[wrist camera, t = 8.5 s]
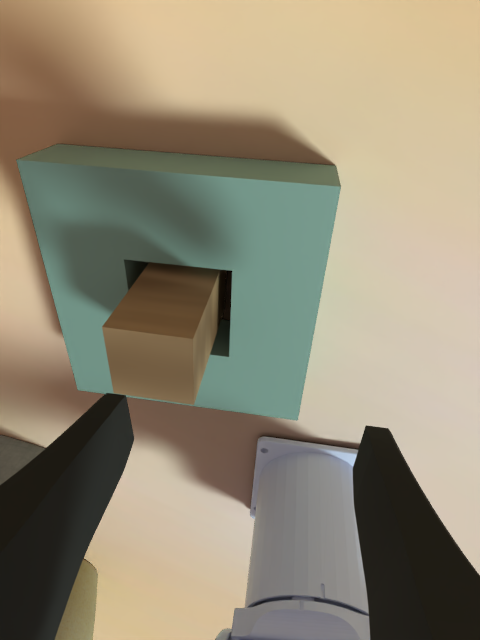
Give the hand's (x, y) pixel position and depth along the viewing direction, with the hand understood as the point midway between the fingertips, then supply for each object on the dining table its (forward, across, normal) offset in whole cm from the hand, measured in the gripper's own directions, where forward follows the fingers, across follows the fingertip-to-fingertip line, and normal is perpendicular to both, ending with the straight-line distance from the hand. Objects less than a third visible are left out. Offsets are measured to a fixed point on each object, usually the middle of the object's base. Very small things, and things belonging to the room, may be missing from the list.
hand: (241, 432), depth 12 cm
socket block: (+9, +4, 0) cm, 10 cm away
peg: (+9, +4, 0) cm, 10 cm away
